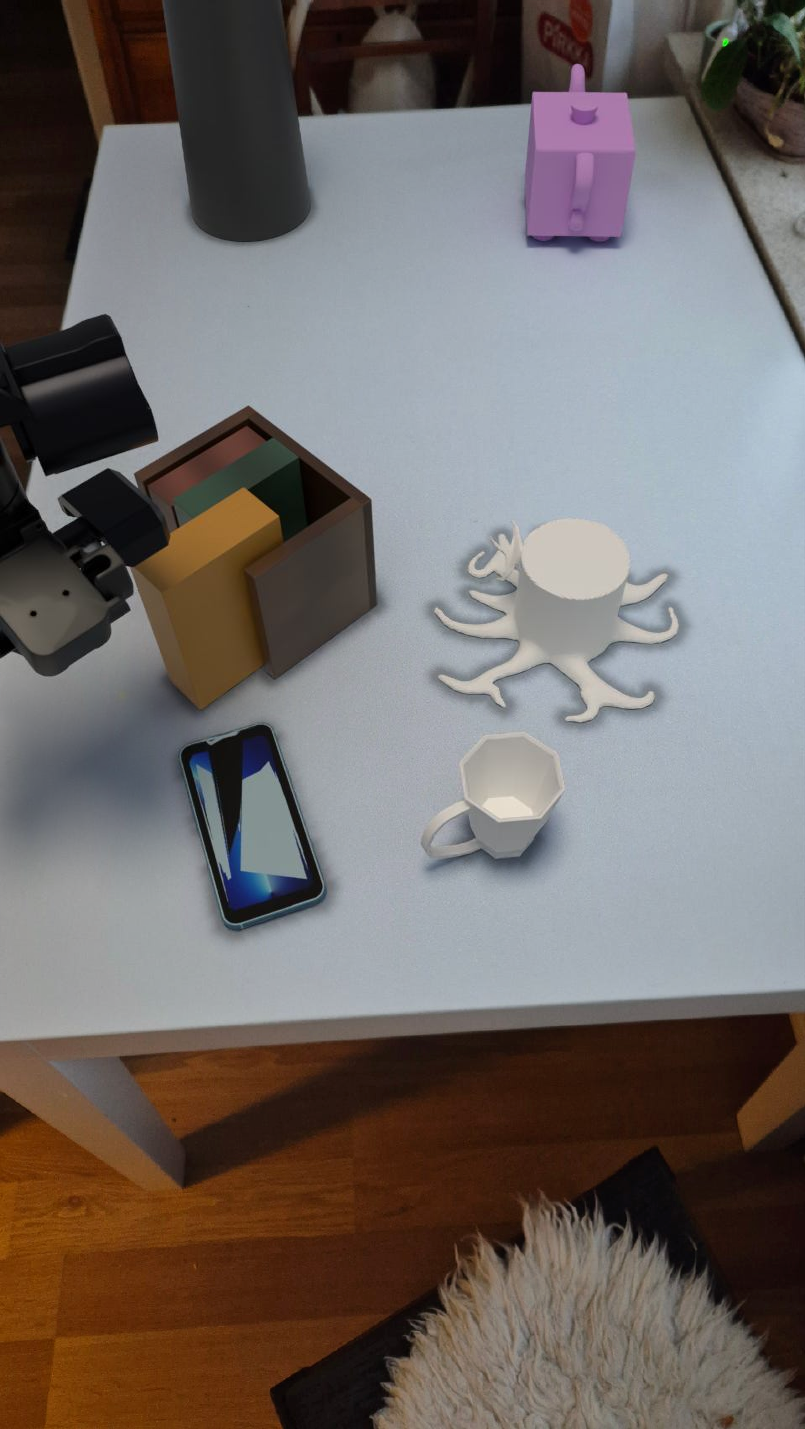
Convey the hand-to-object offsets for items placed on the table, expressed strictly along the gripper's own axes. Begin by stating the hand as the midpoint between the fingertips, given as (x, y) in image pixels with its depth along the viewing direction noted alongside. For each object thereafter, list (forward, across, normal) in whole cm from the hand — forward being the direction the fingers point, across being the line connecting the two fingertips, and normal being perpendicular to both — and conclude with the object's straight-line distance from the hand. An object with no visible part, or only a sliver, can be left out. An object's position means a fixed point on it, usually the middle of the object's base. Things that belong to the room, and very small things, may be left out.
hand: (54, 668), depth 65 cm
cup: (+12, +16, -24) cm, 32 cm away
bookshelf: (+12, +20, +4) cm, 23 cm away
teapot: (+12, +80, +24) cm, 84 cm away
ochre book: (+12, +13, +1) cm, 18 cm away
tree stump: (+12, +34, -15) cm, 39 cm away
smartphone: (+12, +5, -12) cm, 18 cm away
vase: (+12, +55, +50) cm, 75 cm away
